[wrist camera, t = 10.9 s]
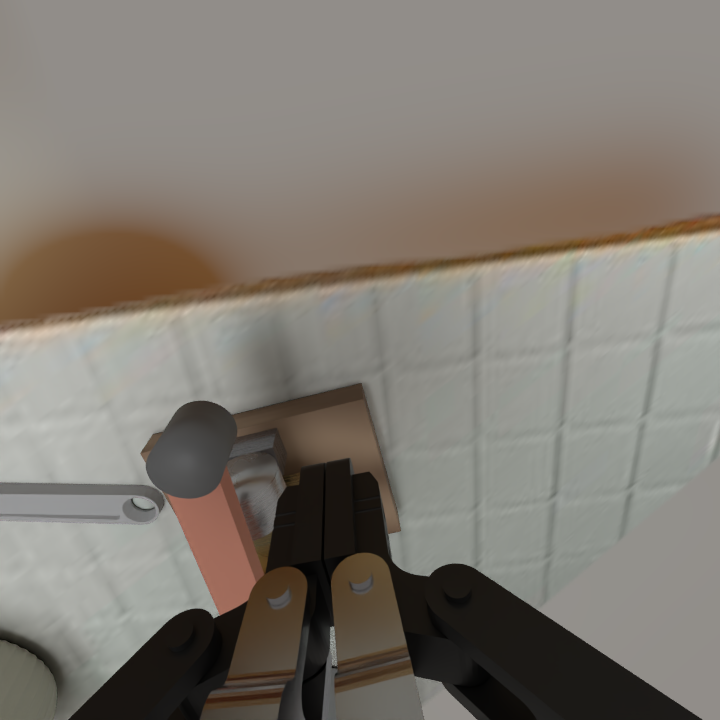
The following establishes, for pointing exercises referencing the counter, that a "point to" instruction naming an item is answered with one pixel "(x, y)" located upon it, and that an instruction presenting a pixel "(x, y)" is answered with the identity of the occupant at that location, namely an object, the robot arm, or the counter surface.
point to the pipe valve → (260, 483)
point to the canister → (25, 685)
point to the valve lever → (207, 499)
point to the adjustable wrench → (77, 503)
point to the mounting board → (321, 436)
